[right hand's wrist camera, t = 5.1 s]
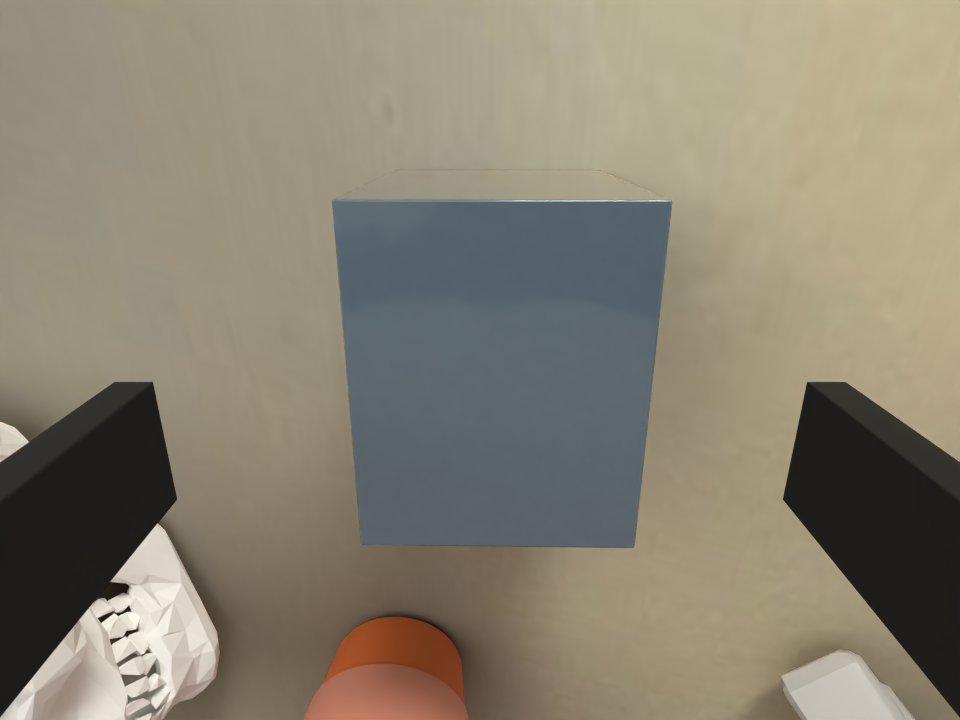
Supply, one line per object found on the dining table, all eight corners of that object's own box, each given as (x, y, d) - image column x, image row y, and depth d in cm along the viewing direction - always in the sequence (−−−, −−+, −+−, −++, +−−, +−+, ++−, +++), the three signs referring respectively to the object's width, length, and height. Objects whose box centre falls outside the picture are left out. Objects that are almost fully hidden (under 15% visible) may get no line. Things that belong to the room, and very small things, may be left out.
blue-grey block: (405, 401, 25) (360, 545, 16) (394, 169, 22) (331, 199, 13) (585, 402, 25) (634, 548, 16) (601, 169, 22) (672, 200, 13)
